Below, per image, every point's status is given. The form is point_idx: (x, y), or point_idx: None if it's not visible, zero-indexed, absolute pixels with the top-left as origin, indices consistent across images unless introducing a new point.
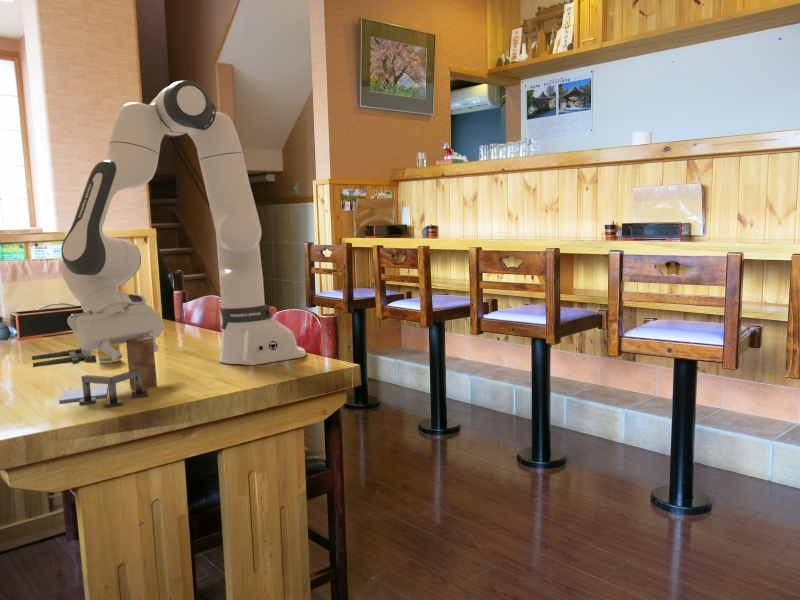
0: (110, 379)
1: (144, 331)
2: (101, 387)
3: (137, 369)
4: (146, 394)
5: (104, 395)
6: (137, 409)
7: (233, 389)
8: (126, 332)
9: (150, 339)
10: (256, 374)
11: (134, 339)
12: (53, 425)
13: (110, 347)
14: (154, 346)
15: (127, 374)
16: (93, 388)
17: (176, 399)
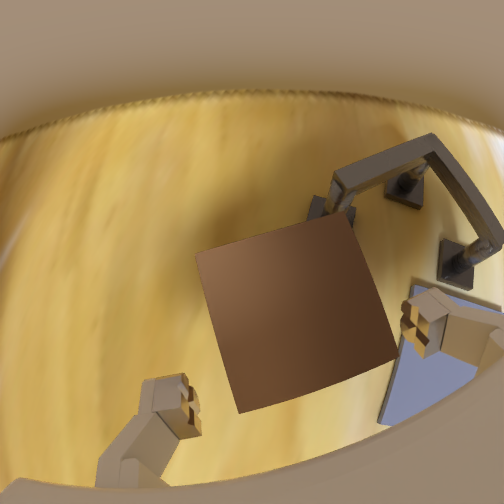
0: (433, 136)
1: (172, 488)
2: (405, 403)
3: (346, 184)
4: (315, 196)
5: (419, 286)
6: (358, 116)
7: (129, 122)
8: (388, 447)
9: (221, 249)
10: (19, 216)
11: (342, 309)
12: (488, 147)
13: (478, 316)
14: (167, 381)
15: (387, 151)
16: (426, 404)
17: (261, 123)
